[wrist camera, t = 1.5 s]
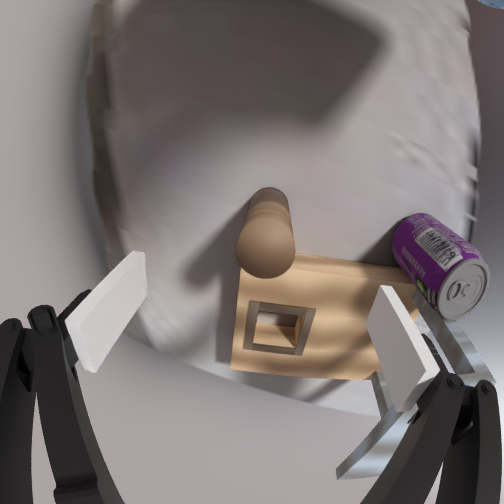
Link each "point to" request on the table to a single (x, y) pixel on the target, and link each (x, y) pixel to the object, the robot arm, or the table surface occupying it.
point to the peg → (266, 236)
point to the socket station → (340, 339)
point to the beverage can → (441, 265)
